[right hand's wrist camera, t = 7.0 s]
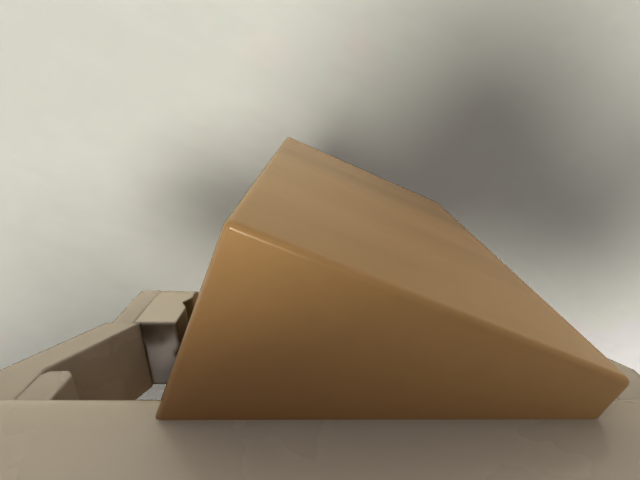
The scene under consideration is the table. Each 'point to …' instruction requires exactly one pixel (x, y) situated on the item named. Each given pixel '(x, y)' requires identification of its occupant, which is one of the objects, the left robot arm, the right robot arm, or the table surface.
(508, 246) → the table surface
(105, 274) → the table surface
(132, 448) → the right robot arm
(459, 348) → the bar
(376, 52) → the table surface
